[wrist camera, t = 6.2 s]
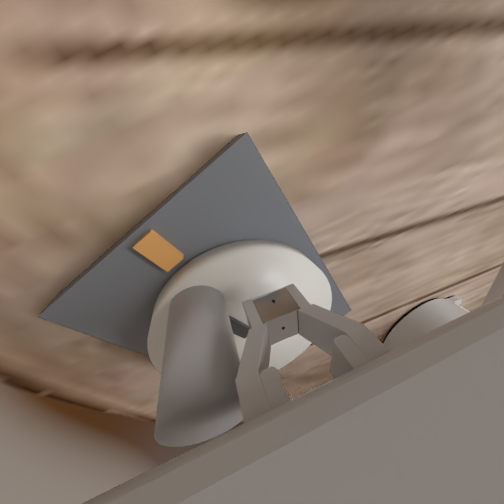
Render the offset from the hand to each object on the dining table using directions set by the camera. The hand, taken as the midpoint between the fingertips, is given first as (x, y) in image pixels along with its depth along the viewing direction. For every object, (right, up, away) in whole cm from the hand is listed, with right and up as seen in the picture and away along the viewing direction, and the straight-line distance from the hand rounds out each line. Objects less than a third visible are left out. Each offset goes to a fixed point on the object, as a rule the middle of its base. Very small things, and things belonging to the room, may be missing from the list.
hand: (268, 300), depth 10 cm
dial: (-1, -3, +7) cm, 8 cm away
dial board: (-2, -2, +9) cm, 9 cm away
